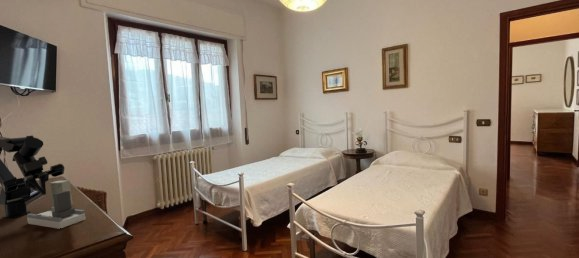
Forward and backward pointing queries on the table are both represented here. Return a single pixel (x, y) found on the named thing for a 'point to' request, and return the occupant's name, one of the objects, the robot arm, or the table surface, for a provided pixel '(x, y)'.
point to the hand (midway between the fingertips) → (44, 194)
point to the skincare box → (60, 188)
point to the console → (55, 219)
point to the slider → (62, 204)
